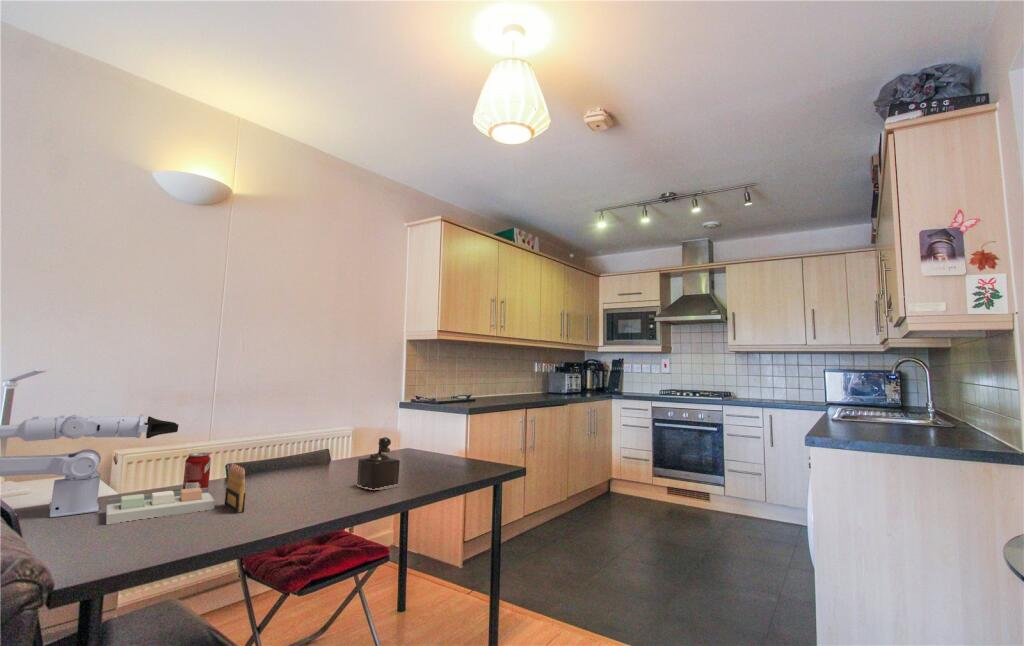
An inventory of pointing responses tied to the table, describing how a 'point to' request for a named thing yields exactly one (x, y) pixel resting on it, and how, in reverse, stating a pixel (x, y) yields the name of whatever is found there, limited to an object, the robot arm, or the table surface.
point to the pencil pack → (235, 489)
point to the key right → (190, 494)
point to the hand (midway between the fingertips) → (176, 427)
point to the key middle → (162, 498)
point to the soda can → (197, 471)
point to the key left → (132, 501)
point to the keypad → (157, 508)
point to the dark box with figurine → (378, 468)
